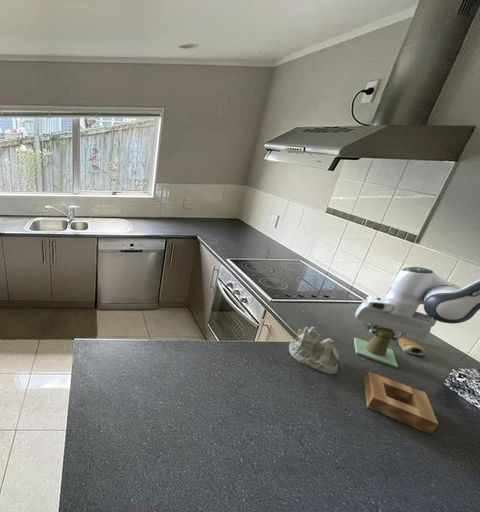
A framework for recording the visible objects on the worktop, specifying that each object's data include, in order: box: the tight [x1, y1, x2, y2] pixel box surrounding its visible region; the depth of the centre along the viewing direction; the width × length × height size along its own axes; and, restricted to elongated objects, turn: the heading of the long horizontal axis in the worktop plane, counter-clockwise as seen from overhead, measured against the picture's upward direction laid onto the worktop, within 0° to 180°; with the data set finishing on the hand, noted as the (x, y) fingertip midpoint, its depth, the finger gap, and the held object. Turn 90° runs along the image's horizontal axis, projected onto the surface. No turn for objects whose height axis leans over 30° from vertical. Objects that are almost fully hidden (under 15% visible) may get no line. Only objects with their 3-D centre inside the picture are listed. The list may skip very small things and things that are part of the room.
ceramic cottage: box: [288, 326, 340, 375], centre depth 108 cm, size 16×16×15 cm
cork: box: [366, 326, 396, 356], centre depth 111 cm, size 6×6×11 cm
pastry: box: [398, 337, 426, 356], centre depth 117 cm, size 9×7×4 cm
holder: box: [362, 370, 439, 435], centre depth 90 cm, size 14×14×4 cm
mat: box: [353, 337, 399, 369], centre depth 114 cm, size 12×12×1 cm
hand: (382, 336), depth 111 cm, fingers closed on cork, 5 cm apart
